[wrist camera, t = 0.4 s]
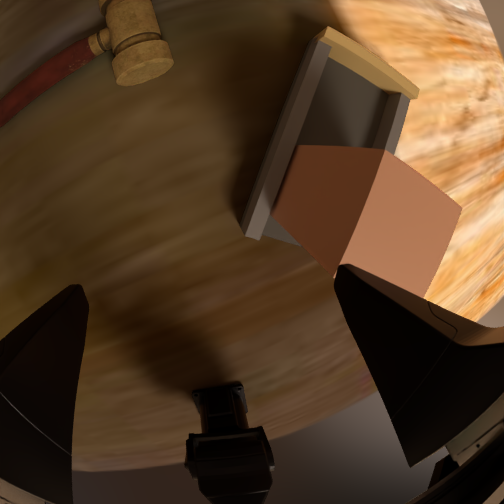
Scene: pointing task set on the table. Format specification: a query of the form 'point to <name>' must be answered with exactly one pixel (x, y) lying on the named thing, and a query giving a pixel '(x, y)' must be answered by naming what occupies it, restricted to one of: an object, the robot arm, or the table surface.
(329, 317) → the table surface
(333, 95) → the gray tray
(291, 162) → the block
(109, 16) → the gavel
